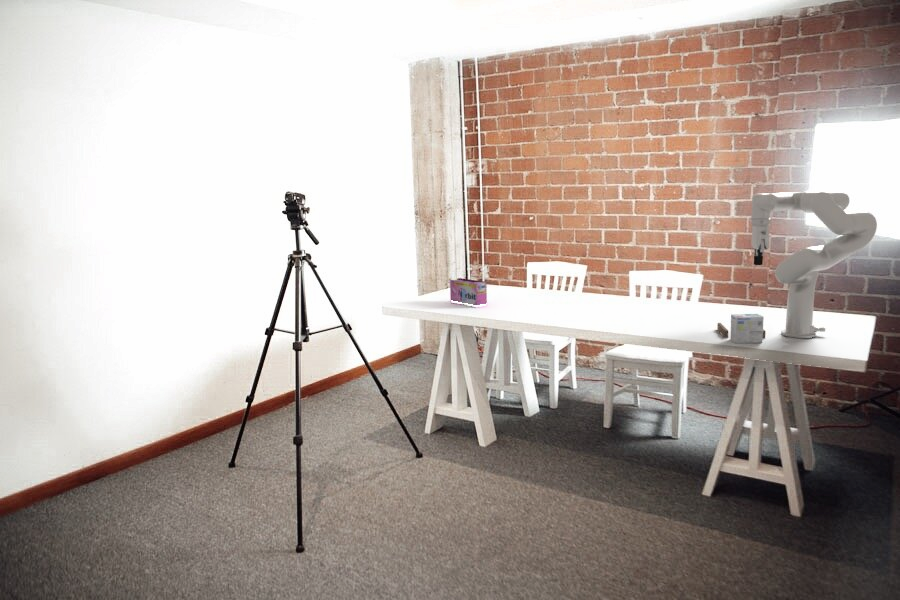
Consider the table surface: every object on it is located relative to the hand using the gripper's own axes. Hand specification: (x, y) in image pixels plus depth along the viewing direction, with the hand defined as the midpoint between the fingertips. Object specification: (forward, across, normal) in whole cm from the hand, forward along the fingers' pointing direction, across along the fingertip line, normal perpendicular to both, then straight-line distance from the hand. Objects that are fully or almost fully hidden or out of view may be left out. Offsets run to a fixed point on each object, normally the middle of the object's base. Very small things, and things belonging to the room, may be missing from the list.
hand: (758, 264), depth 279 cm
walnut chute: (+27, -16, +10) cm, 33 cm away
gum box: (+28, +50, +136) cm, 147 cm away
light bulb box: (+27, -29, +11) cm, 41 cm away
